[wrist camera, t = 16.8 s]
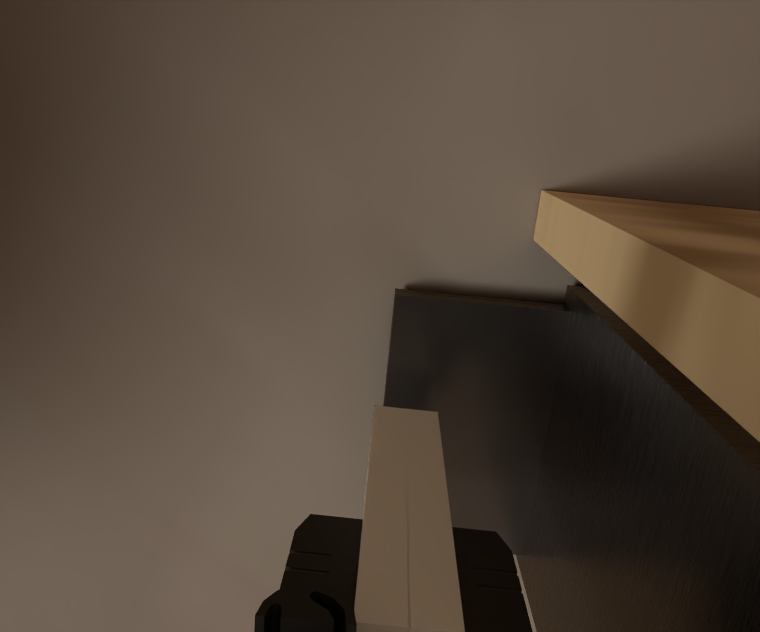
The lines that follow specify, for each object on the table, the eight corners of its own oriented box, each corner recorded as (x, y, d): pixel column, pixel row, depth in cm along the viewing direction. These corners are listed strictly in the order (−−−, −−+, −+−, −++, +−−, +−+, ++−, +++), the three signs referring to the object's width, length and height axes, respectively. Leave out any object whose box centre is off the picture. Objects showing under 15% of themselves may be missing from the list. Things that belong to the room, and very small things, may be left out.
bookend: (369, 541, 18) (336, 1034, 8) (397, 269, 15) (397, 518, 6) (551, 558, 18) (729, 1071, 8) (608, 289, 15) (955, 570, 6)
